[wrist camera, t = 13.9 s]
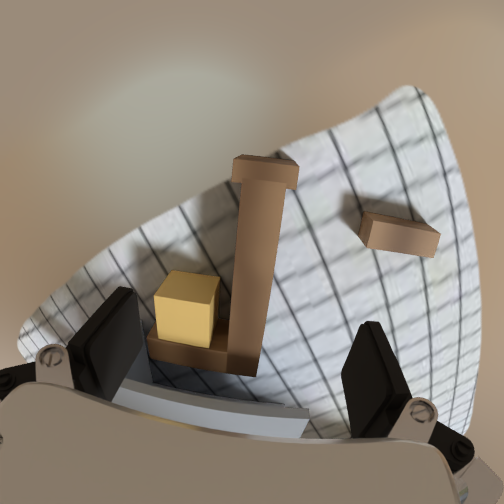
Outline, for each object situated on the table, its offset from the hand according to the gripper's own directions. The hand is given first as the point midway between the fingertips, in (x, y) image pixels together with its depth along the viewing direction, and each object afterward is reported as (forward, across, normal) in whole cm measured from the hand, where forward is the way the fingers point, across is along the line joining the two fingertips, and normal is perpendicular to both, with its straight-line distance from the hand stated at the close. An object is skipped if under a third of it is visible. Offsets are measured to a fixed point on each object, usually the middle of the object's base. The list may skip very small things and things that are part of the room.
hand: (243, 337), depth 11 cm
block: (+15, +6, +8) cm, 18 cm away
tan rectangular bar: (+16, -12, -1) cm, 20 cm away
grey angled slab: (+15, +4, +20) cm, 25 cm away
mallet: (+15, +4, +4) cm, 16 cm away
